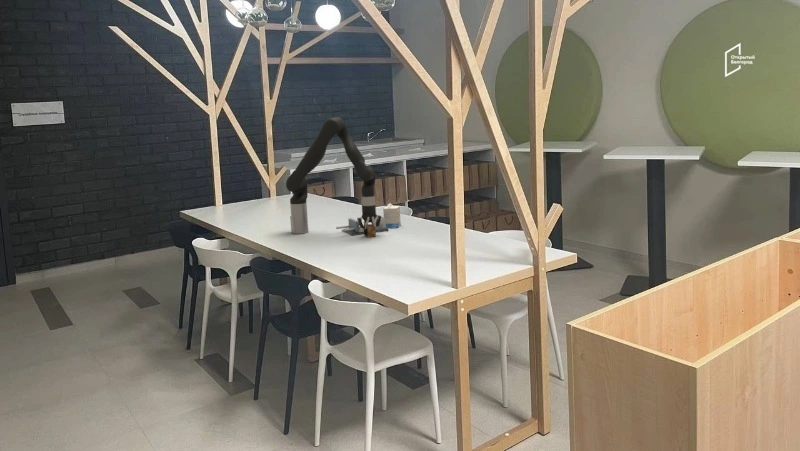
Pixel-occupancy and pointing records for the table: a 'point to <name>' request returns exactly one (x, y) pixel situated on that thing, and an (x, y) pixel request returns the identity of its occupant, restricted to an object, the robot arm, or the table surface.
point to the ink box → (392, 216)
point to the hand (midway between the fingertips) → (370, 234)
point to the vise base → (378, 229)
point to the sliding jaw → (351, 226)
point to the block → (371, 231)
